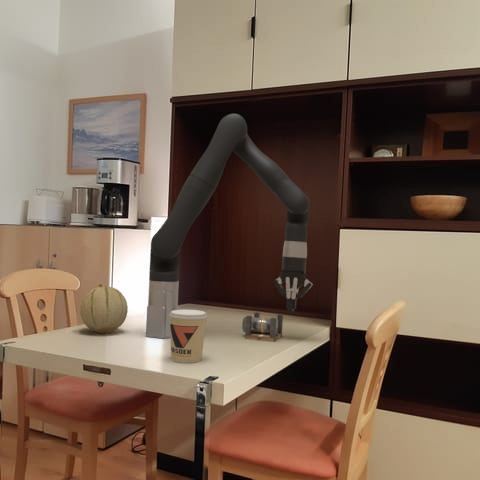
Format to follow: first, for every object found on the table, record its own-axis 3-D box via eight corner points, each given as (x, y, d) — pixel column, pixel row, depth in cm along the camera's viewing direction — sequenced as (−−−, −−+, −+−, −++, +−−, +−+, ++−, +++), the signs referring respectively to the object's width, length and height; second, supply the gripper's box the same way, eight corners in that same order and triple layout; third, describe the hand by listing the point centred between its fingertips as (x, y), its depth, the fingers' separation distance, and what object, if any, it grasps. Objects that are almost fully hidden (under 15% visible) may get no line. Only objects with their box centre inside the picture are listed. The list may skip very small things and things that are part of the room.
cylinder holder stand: (273, 342, 151) (274, 318, 151) (245, 338, 154) (246, 316, 154) (282, 336, 160) (283, 314, 160) (254, 333, 164) (255, 312, 164)
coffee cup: (160, 360, 121) (163, 312, 121) (178, 353, 130) (180, 308, 130) (194, 365, 118) (197, 315, 118) (210, 357, 126) (212, 311, 127)
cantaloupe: (103, 338, 144) (105, 288, 144) (68, 332, 151) (70, 284, 151) (136, 332, 157) (138, 285, 157) (103, 326, 164) (105, 282, 164)
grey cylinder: (242, 333, 157) (242, 317, 157) (246, 330, 162) (247, 315, 162) (275, 336, 153) (275, 319, 153) (279, 333, 158) (279, 317, 158)
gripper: (271, 254, 153) (267, 309, 153) (312, 257, 148) (309, 314, 148) (277, 254, 160) (273, 307, 160) (317, 257, 155) (313, 311, 155)
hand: (290, 310), depth 154 cm, fingers closed
